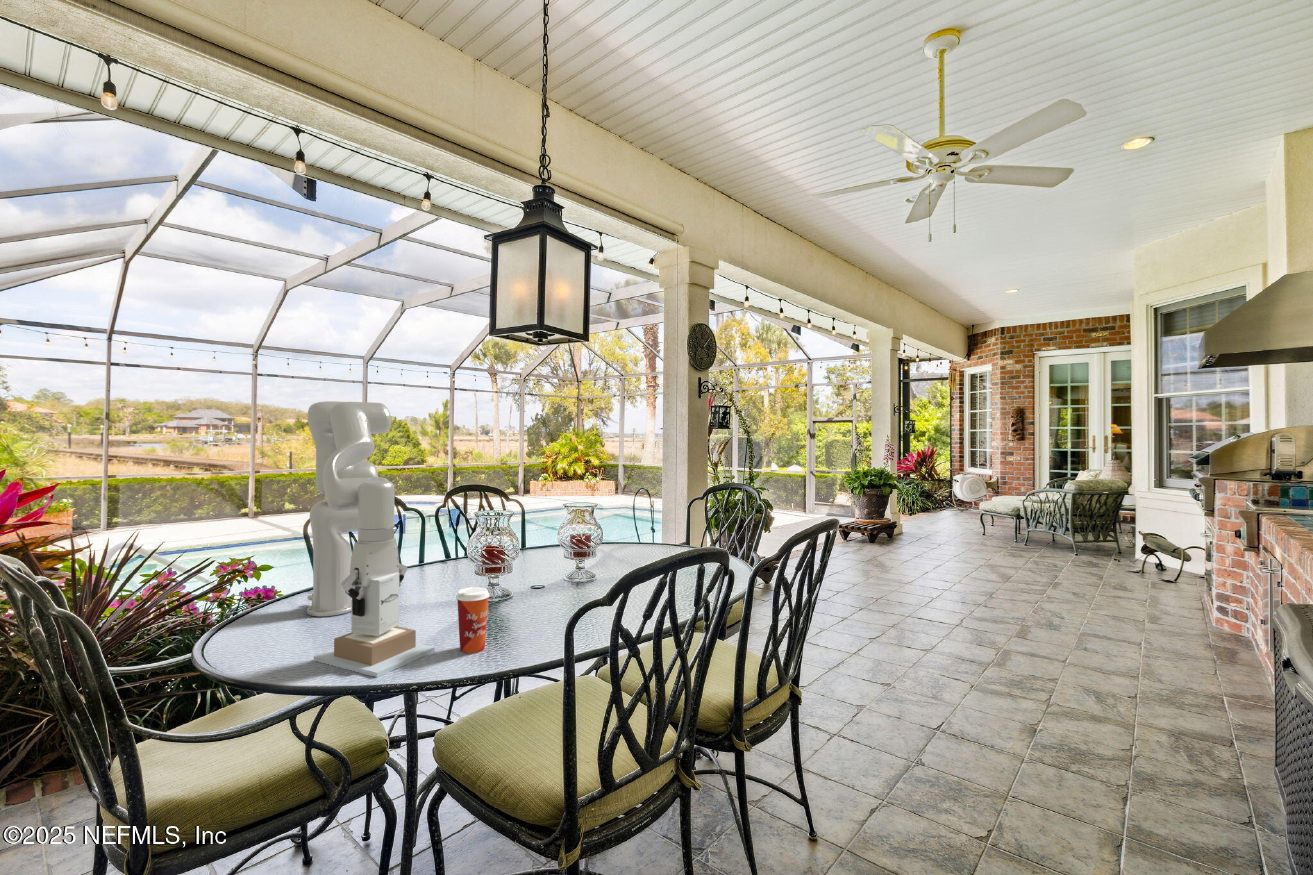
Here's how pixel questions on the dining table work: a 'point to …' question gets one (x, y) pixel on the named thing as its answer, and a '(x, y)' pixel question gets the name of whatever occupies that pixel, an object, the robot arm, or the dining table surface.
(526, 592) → the dining table surface
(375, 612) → the supplement box
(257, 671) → the dining table surface
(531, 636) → the dining table surface
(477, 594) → the paper cup
